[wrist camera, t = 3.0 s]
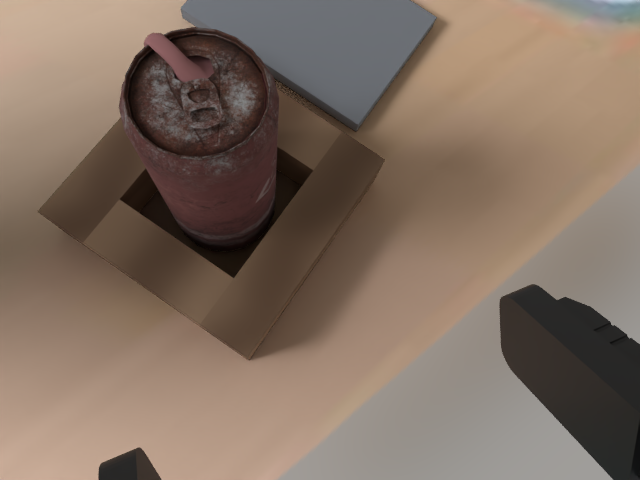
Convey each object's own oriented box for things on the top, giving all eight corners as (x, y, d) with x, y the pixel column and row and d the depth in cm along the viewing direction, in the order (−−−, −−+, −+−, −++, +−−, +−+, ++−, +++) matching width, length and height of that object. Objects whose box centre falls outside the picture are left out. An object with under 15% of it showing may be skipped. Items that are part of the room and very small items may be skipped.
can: (218, 138, 35) (187, -15, 21) (294, 201, 34) (312, 84, 21) (150, 207, 33) (70, 88, 20) (229, 273, 33) (202, 198, 19)
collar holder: (61, 229, 32) (37, 211, 29) (201, 66, 36) (194, 34, 33) (248, 360, 32) (246, 358, 28) (373, 180, 35) (385, 159, 32)
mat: (182, 17, 37) (180, 8, 36) (269, -78, 39) (269, -90, 38) (355, 131, 36) (358, 124, 35) (432, 26, 38) (436, 17, 37)
